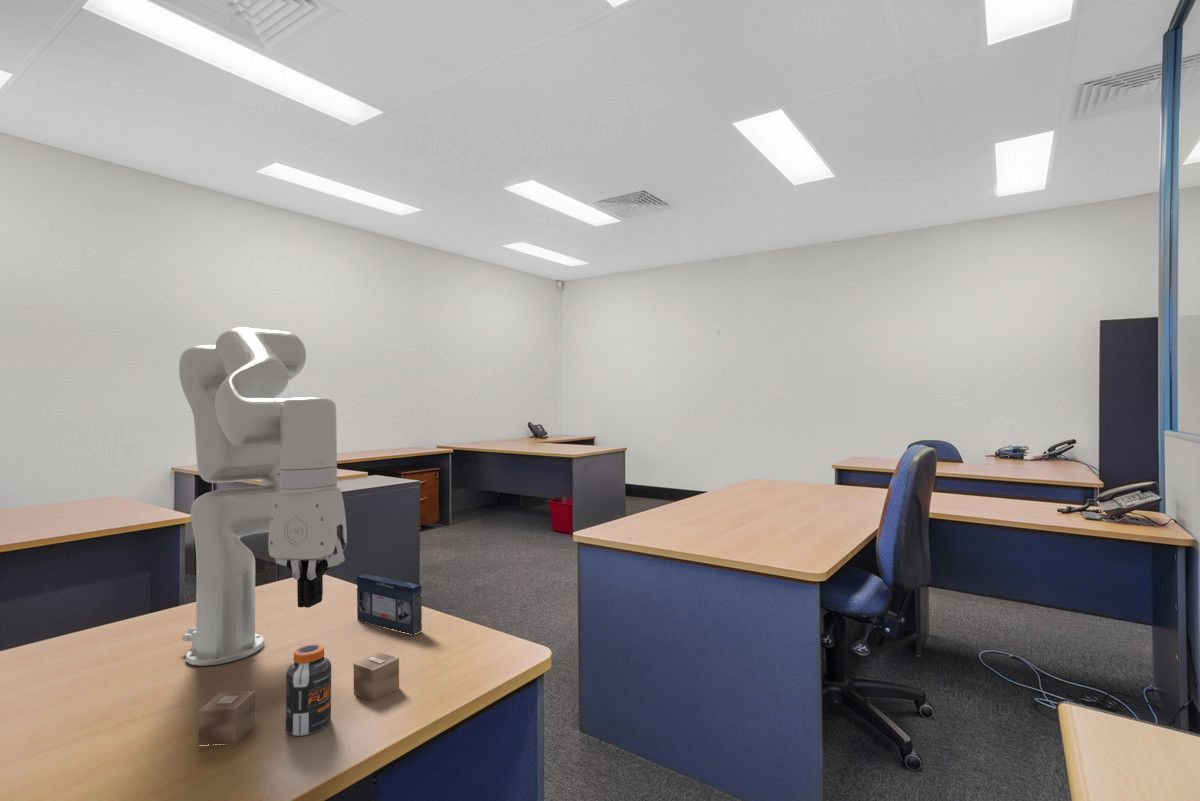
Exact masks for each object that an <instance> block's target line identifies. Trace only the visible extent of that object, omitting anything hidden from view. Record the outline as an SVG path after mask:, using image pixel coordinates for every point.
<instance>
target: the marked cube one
mask: <svg viewBox="0 0 1200 801" xmlns="http://www.w3.org/2000/svg"><path fill="white" fill-rule="evenodd" d="M197 714H198V716H197V717H198V720H197V721H198V722H197V723H198V724H197V725H198V726H197V727H198V728H197V729H198V732H197V735H198V736H197V737H198V740H197V743H198V744H197V746H198V745H208V744H209V745H213V744H214V745H215V744H217V745H218V744H235V745H237V744H238V743H239V742H240V741H241V740H242V739H243V738H244V737H245V736H246V735H247V734H248V733H249V732H250V731H251V729H252V728H253V727H255V725H256V690H248V691H229V692H226V691H225V692H219V693H218V694H217V695H216V696H214V697H213V698H212V699H211V700H210V701H208V703H205V705H203V706H202V707H201V708H200V709H199V710H198V712H197ZM247 732H248V733H247ZM246 733H247V734H246ZM245 734H246V735H245ZM244 735H245V736H244ZM243 736H244V737H243ZM242 737H243V738H242ZM241 738H242V739H241ZM240 739H241V740H240ZM239 740H240V741H239ZM238 741H239V742H238ZM237 742H238V743H237ZM236 743H237V744H236ZM218 746H219V745H218Z"/></svg>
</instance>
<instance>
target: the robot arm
mask: <svg viewBox="0 0 1200 801" xmlns="http://www.w3.org/2000/svg"><path fill="white" fill-rule="evenodd" d="M306 352H307V351H306V348H305V345H304V343H303V341H302V340H301V338H299V336H297V335H296V334H294V333H292V332H289V331H284V330H283V331H281V330H272V329H271V330H270V329H261V328H253V327H251V328H250V327H236V328H231V329H228V330H226V331H224V332H223V333H222V332H221V334H220V335H219V336H218V337H217V339H216V341H215V344H214V345H213V344H212V345H211V344H207V345H206V344H205V345H202V344H201V345H194V346H191V347H189V348H187V349H186V350H184V351H183V352H182V354H181V355H180V357H179V358H180V359H179V362H178V374H179V381H180V386H181V388H182V391H183V393H184V396H185V398H186V400H187V403H188V404H189V407H190V410H191V413H192V415H193V421H194V422H193V423H194V436H195V441H194V442H195V453H196V454H195V455H196V463H197V464H196V467H197V472H198V474H199V476H200V478H201V479H202V480H203V481H204V482H207V483H211V484H213V483H214V484H220V483H221V484H225V483H227V484H228V483H236V482H237V483H238V482H248V481H249V482H251V481H261V482H262V484H263V485H258V486H256V485H255V486H249V487H248V486H247V487H246V486H244V487H236V488H234V487H232V488H224V489H217V490H211V491H208V492H205V493H204V494H202V495H200V496H198V497H197V498H196V499H195V500H194V501H193V503H192V505H191V508H190V521H191V527H192V531H193V538H194V545H195V546H194V547H195V556H196V557H195V558H196V559H195V561H196V563H195V564H196V565H195V566H196V573H195V574H196V596H195V597H196V604H195V606H196V608H195V609H196V611H195V612H196V613H195V614H196V617H195V618H196V621H195V622H196V623H195V624H196V625H195V626H191V627H190V628H189V629H188V632H187V633H184V634H183V635H182V641H183V642H191V648H190V649H188V651H187V652H186V654H185V661H186V663H187V664H189V665H192V666H203V667H205V666H206V667H207V666H216V665H223V664H226V663H231V662H235V661H238V660H241V659H244V658H247V657H249V656H251V655H254V654H255V653H257V652H258V651H260V650H261V649H262V648H263V646H264V645H265V638H264V636H263V635H261V634H259V633H256V558H255V556H254V552H253V551H252V550H251V549H250V548H249V547H248V546H246V545H245V543H244V542H242V540H241V538H242V537H249V536H250V535H257V534H263V533H268V546H267V547H268V554H269V556H270V557H271V558H273V559H275V560H274V562H275V563H276V564H277V565H280V566H284V567H287V568H288V570H290V572H292V578H293V580H296V582H297V584H296V586H297V587H296V588H297V591H296V592H297V596H296V597H297V607H298V608H311V607H313V606H315V605H317V604H320V603H321V602H322V601H323V595H324V586H323V584H324V583H323V582H324V579H323V576H324V575H326V574H327V572H328V571H329V569H330V568H331V567H336V566H338V565H341V564H344V563H345V560H346V559H345V555H344V551H345V550H346V548H347V543H348V542H347V539H348V535H347V534H348V531H347V530H348V528H347V519H346V518H347V517H346V508H345V503H344V499H343V497H344V496H343V494H342V489H341V488H340V487H338V467H337V466H338V457H337V456H338V454H337V453H338V452H337V451H338V448H337V446H338V445H337V442H338V441H337V440H338V439H337V434H338V433H337V431H338V430H337V406H336V403H335V401H333V400H332V399H331V398H330V399H329V398H327V397H316V396H315V397H313V396H312V397H307V396H306V397H291V398H285V397H284V398H279V397H278V396H279V395H280V394H282V393H283V392H284V390H286V387H287V386H288V383H289V381H290V380H293V379H294V378H295V377H296V376H298V375H299V374H300V373H301V371H302V370H303V368H304V367H305V364H306V359H307V353H306ZM277 397H278V398H277Z"/></svg>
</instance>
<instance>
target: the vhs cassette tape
mask: <svg viewBox="0 0 1200 801" xmlns="http://www.w3.org/2000/svg"><path fill="white" fill-rule="evenodd" d="M356 586H357V588H356V607H357V608H356V609H357V610H356V611H357V612H356V613H357V621H358V620H360V621H359V622H361V621H362V622H361V623H364V622H367V623H366V624H368V623H370V624H369V625H371V624H374V625H373V626H375V625H377V626H376V627H378V626H381V627H380V628H382V627H386V628H389V629H394V630H397V631H401V632H405V633H409V634H412V635H413V636H415V635H414V634H415V633H418V632H420V631H422V632H423V628H422V627H423V624H422V621H423V620H422V619H423V618H422V617H423V616H422V615H423V614H422V608H423V607H422V606H423V604H422V585H420V584H416V583H412V582H406V581H402V580H398V579H397V580H396V579H390V578H387V577H383V576H382V577H381V576H378V575H377V576H376V575H373V574H371V575H370V574H365V573H364V574H361V575H358V576H356ZM389 629H388V630H389ZM420 633H421V632H420ZM418 634H419V633H418Z"/></svg>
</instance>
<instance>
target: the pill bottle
mask: <svg viewBox="0 0 1200 801" xmlns="http://www.w3.org/2000/svg"><path fill="white" fill-rule="evenodd" d="M325 654H326V653H325V646H324V645H323V644H320V643H312V644H305V645H302V646H300V647H298V648H296V649H295V650H294V652H293V662H292V663H291V665H289V666H288V668H287V670H286V674H285V676H286V677H285V678H286V679H285V682H286V683H285V684H286V686H285V731H286V732H287V734H289V735H291V736H295V737H299V736H300V737H301V736H307V735H310V734H314V733H317V732H319V731H321V730H323V729H324V728H325V727H327V726H328V724H330V723H331V720H332V719H331V718H332V717H331V715H332V663H331V661H330V659H329V658H327V657H325Z"/></svg>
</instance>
